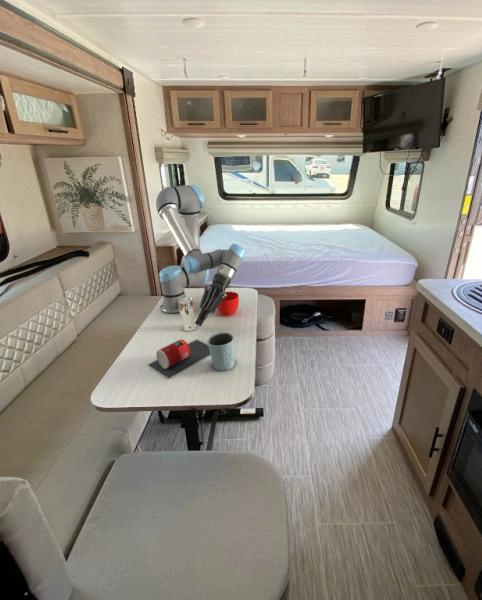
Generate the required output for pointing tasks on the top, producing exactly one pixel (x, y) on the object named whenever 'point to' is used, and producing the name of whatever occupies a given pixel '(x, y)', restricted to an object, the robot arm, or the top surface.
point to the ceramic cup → (229, 304)
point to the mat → (196, 354)
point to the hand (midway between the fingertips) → (197, 324)
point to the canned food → (173, 353)
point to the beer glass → (187, 313)
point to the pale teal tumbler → (222, 351)
